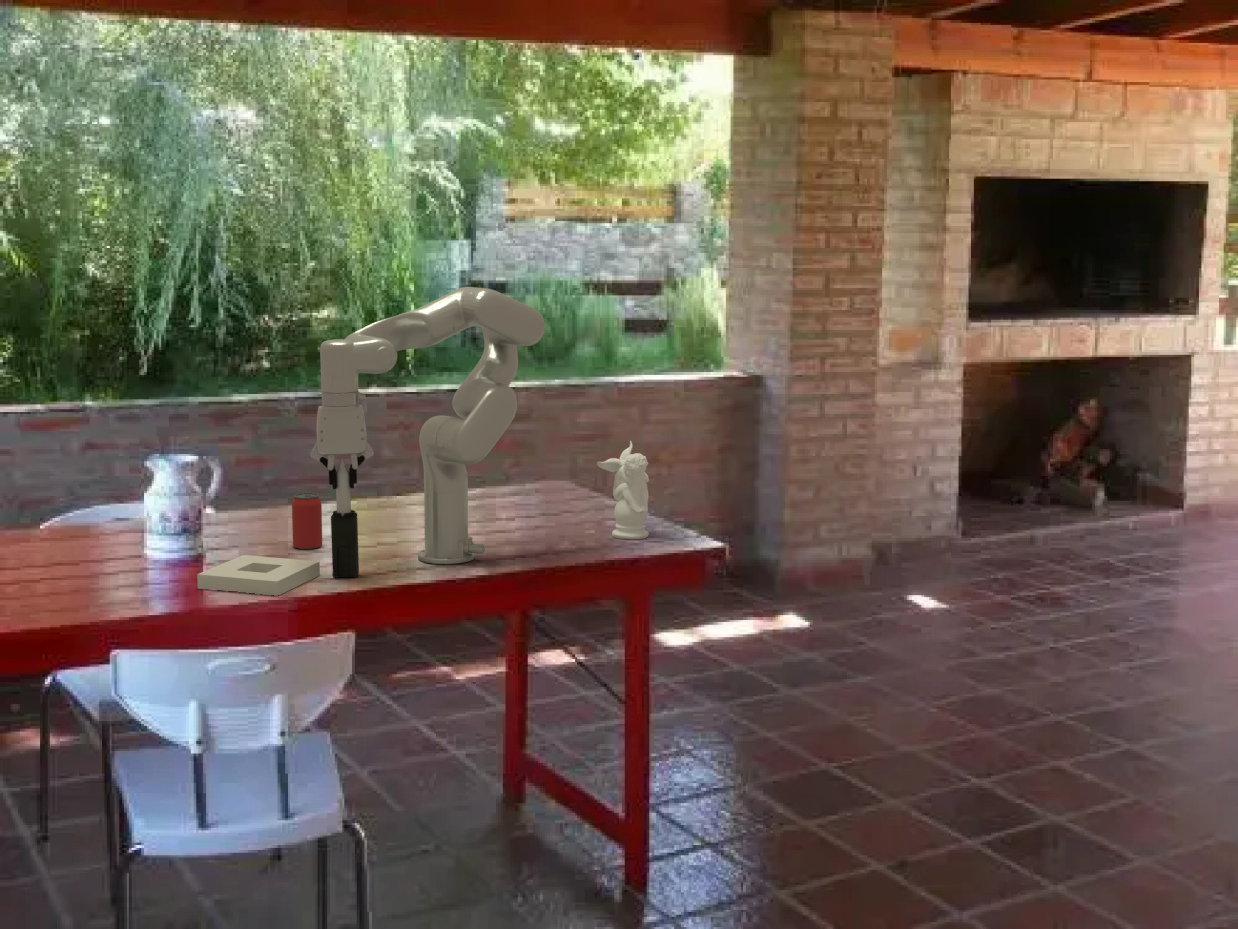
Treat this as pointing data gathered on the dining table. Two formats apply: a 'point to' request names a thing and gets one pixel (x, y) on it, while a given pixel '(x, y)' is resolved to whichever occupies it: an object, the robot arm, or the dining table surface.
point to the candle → (344, 528)
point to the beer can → (307, 521)
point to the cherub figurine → (629, 494)
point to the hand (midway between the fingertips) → (343, 486)
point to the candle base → (259, 575)
